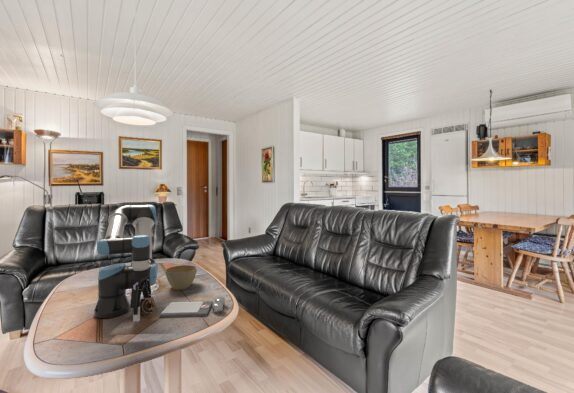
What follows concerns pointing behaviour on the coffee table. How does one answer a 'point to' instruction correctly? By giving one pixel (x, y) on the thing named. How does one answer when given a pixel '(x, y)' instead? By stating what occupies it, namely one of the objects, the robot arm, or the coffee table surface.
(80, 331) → the coffee table surface
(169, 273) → the olive beige round bowl
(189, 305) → the dial scale
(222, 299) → the cylinder
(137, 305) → the robot arm
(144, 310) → the mechanical counter
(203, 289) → the coffee table surface
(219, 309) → the cylinder
